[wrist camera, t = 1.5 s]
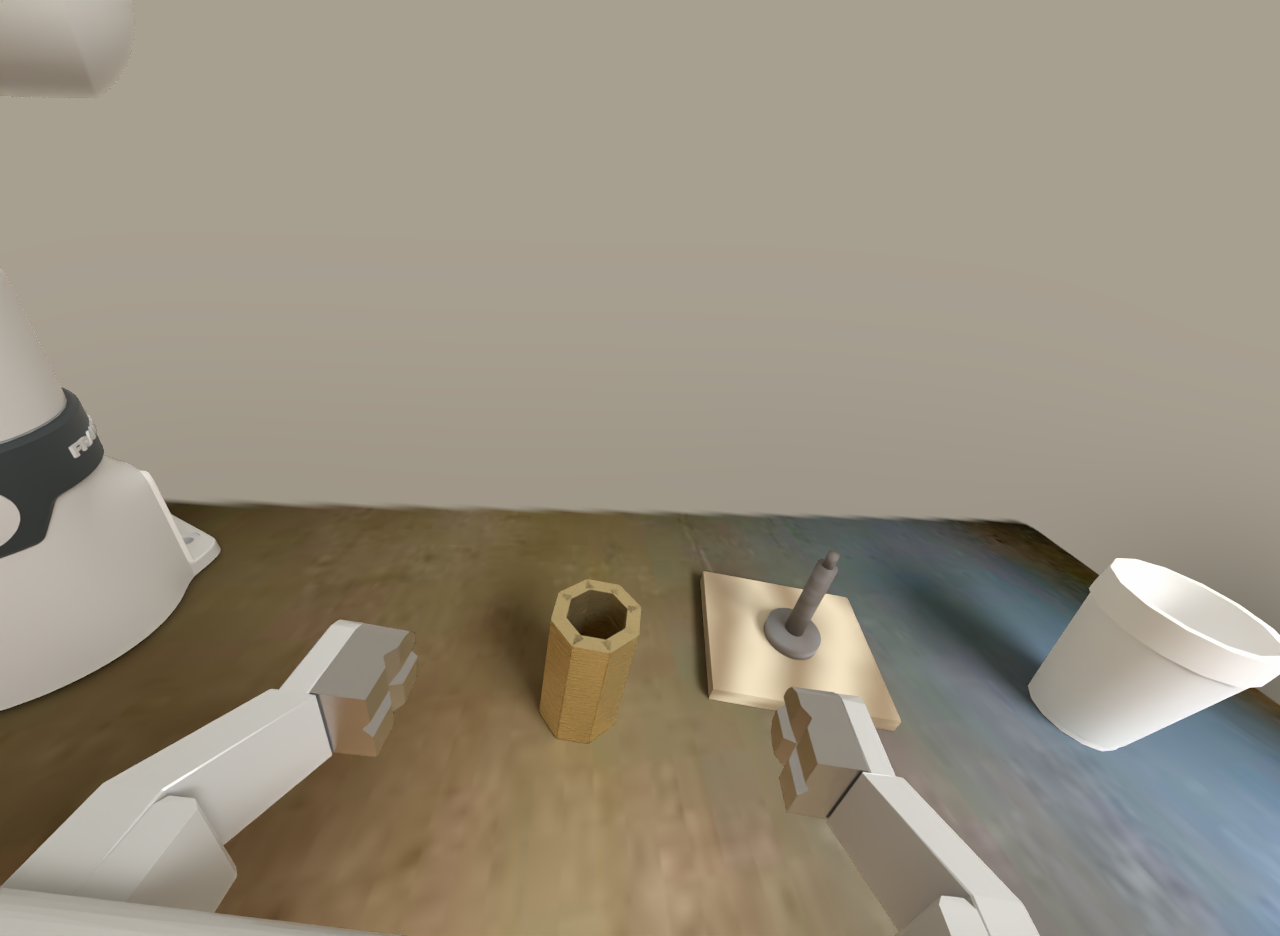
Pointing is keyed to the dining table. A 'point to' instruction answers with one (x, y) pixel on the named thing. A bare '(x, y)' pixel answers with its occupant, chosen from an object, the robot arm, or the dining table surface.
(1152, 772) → the dining table surface
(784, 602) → the shaft stand
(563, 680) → the collar
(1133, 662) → the foam cup
